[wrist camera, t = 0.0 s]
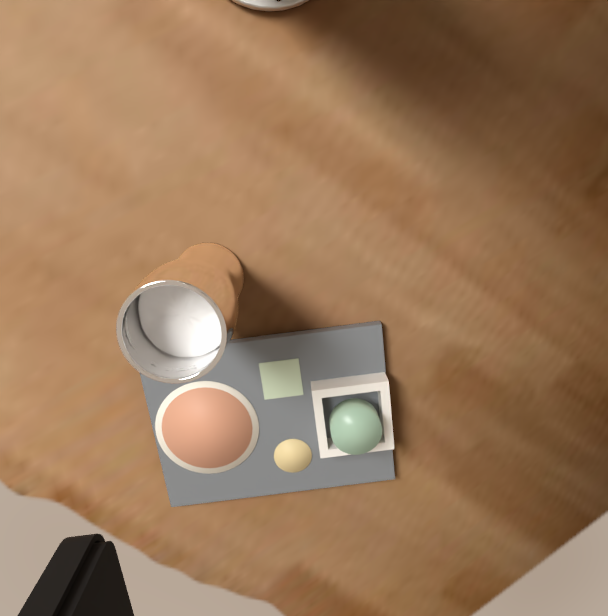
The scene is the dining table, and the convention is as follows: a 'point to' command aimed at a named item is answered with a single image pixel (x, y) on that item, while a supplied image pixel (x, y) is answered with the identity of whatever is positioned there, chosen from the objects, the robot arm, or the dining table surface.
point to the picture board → (272, 416)
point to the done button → (355, 426)
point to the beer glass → (182, 315)
